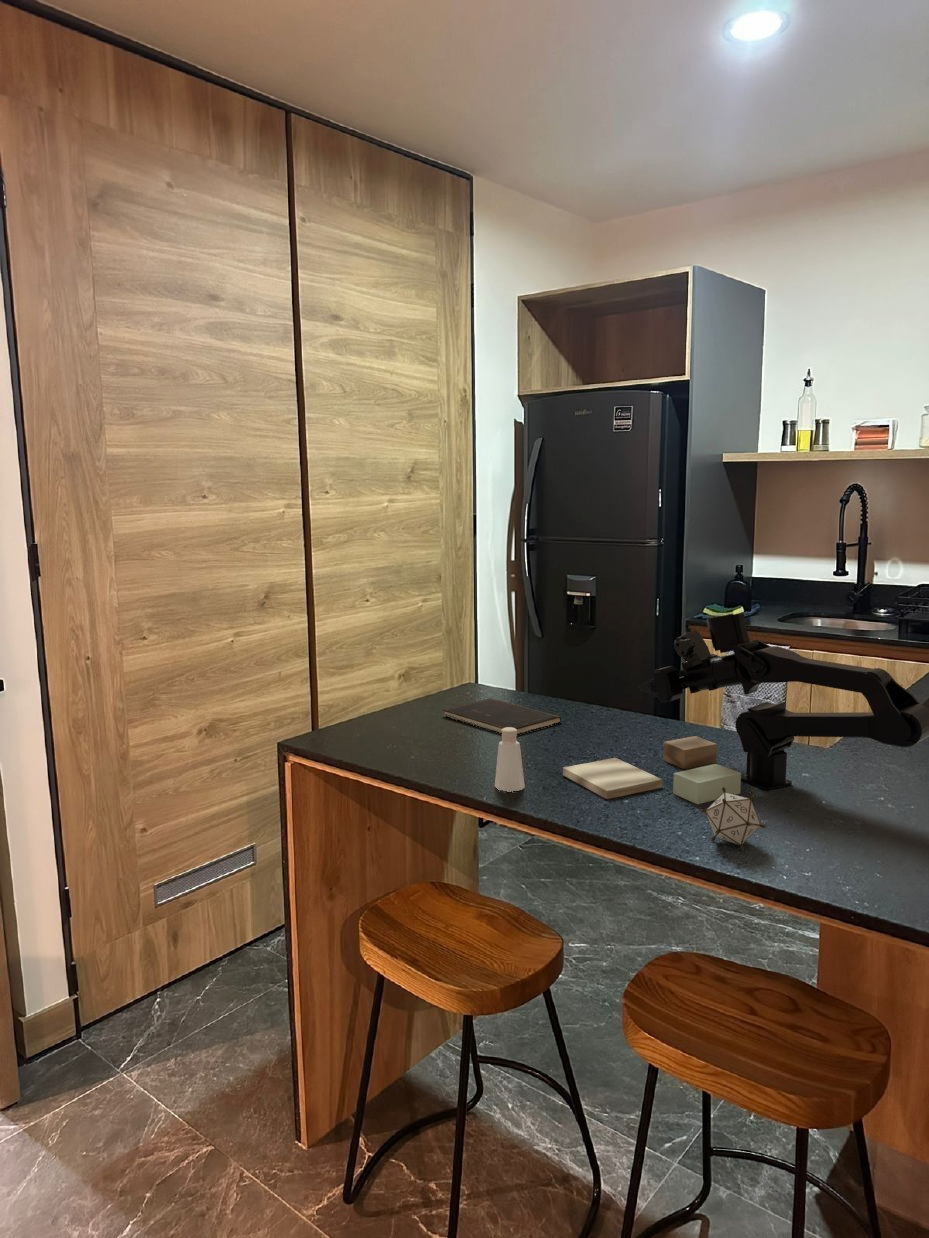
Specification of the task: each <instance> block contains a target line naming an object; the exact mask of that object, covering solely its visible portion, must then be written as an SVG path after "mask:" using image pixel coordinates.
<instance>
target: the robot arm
mask: <svg viewBox="0 0 929 1238" xmlns="http://www.w3.org/2000/svg"><path fill="white" fill-rule="evenodd" d="M706 624H707V627H708V631H709V634H710V635H709V636H710V640H711V643H712V644H711V645H712V648H713V649H714V652H717V651H719V653H720V654H724V653H727V652H728V653H729V652H733V654H727V655H718V654H715V653H711V652H710V649H709V646H708V645H707V643H706V641H705V640H704V638H703V636H702V635H701V633H700V632H699V631H698V630H693V631H692V630H691V631H688V632H685V633H684V634H682V635H681V636H678V637H676V638H675V640H674V642H673V645H674V646H673V648H674V650H675V651H676V653H677V655H678V656H679V657H681V658H682V659H683V660H684V662H681V665H682V670H678V669H677V668H676V667H674V666H673V665H671V666H666V667H665V666H664V667H661V668H659V669H654V670H653V673H652V676H653V678H652V679H649V680H648V681H645V682H643V683H641V684H639V685H638V687H639V689H640V691H641V692H644V693H646V694H649V695H652V697H653V696H654V697H656V698H658V700H659V702H661V704H663V703H669V702H673V701H676V700H679V699H681V697H682V695H683V693H684V691H683V690H685V689H689V693H690V694H697V693H698V692H702V691H715V690H718V689H722V688H727V687H734V686H741V687H742V690H743V694H744V695H746V696H747V695H750V694H753V693H756V692H757V691H758V689H759V687H760V685H761V684H763V683H764V684H770V683H771V684H777V683H778V684H779V683H792V682H793V683H794V682H795V683H796V682H797V683H803V684H804V683H805V684H807V685H808V684H809V685H814V686H821V687H826V688H831V689H837V690H842V691H848V692H855V693H861V695H862V696H863V697H864V698H865V700H866V702H867V703H868V705H869V708H870V710H871V711H870V712H867V711H866V712H862V711H861V712H860V711H858V712H852V711H851V712H848V711H847V712H794V711H790V710H788V709H786V702H785V701H781V702H778V703H771V702H769V701H764V702H761V703H759V704H756V705H754V706H750V707H747V710H746V711H744V712H741V713H739V715H738V716H737V717H736V720H735V730H736V733H737V735H738V736H739V740H740V743H741V746H742V749H743V752H744V753H746V768H745V769H746V771H745V774H746V775H743V776H742V775H741V781H743V782H746V783H748V784H749V785H750V784H751V785H753V786H755V787H758V788H760V789H762V790H765V791H768V790H773V789H777V788H782V787H787V786H791V785H793V781H792V780H790V779H787V765H788V764H787V763H788V762H787V761H788V759H787V758H788V752H786V751H785V749H788V748H791V747H792V745H793V744H794V741H795V737H802V738H803V737H804V738H805V737H806V738H813V737H814V738H854V739H856V738H859V739H860V738H861V739H863V738H866V739H870V740H873V741H875V742H878V743H880V744H882V745H883V744H884V745H889V746H894V747H898V748H909V747H912V746H915V745H916V744H919V743H921V742H922V741H924V740H926V739H928V738H929V708H928V707H927V706H926V705H924V704H921V703H920V701H918V699H917V698H916V697H915V696H914V695H913V694H912V693H911V692H910V691H909V690H907V689H906V688H904V687H903V685H900V683H898V682H897V681H896V679H894V678H893V676H892V675H891V674H890V672H888V671H887V670H885V669H883V668H881V667H875V668H872V667H864V666H859V665H853V664H852V665H851V664H846V663H838V662H833V661H826V660H820V659H812V658H808V657H805V656H803V655H801V654H798V653H797V652H795V651H794V650H790V649H787V648H784V647H781V646H778V645H773V646H771V645H769V644H767V643H765V642H764V641H761V640H759V639H758V638H756V639H751V640H750V638H749V633H748V630H747V626H746V616H745V614H744V612H739V613H729V614H724V615H720V616H714V617H711V618H707V619H706Z"/></svg>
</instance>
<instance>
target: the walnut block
mask: <svg viewBox="0 0 929 1238" xmlns="http://www.w3.org/2000/svg"><path fill="white" fill-rule="evenodd" d="M717 747H718V746H717V743H715V742H713V741H710V740H707V739H704V738H702V737H699V736H697V735H694V736H688V737H683V738H678V739H672V740H667V741H663V760H662V761H664V762H666V763H669V764H670V765H674V766H675V767H677V768H681V769H683V770H688V769H690V768H691V769H693V768H698V767H703V766H708V765H712V764H717Z"/></svg>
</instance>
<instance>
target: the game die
mask: <svg viewBox="0 0 929 1238" xmlns="http://www.w3.org/2000/svg"><path fill="white" fill-rule="evenodd" d="M725 789H726V788H724V787H723V788H722V790H723V792H724V793H723V794H722V795H721V796H720V797H718V798H717V799H716V800H713V802H712V803H711V804H710V805H709V806H708V807H707V808H706V809H705V808H700V809H698V810H699V811H700V812H701V813H705V815H706V818H707V821H708V824H709V827H710V829H711V833H712V834H713V836H712V837H711V841H710V842H715V841H716V839H718V840H721V841H725V842H728V843H731V844H735V845H738V846H739V849H740V850H741V851H742V850H743V851H744V849H745V848H744V846H743V845H744V843H745V842H747V840H748V839H749V838H751V837H752V836H753V834H755V832H756V831H757V830H759V828H761V829H765V828H767V826H766V825H765V824H764V823H763V824H761V822H760V819H759V816H758V814H757V811H756V807H755V806H754V803H753V800H754V799H755V795H756V794H753V795H752V794H751V795H750V797H746V796H743V795H740V794H736V795H735V794H731V793H728V792H726V790H725Z"/></svg>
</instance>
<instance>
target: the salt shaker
mask: <svg viewBox="0 0 929 1238" xmlns="http://www.w3.org/2000/svg"><path fill="white" fill-rule="evenodd" d="M501 732H502V734H501V738H502V739H501V741H499V742H498V747H497V759H496V768H495V769H496V770H495V781H494V787H496V788H497V789H498V790H503V791H507V792H511V791H512V793H514V792H513V791H519V790H521V791H522V790H524V789H525V779H524V778H525V776H524V769H523V760H522V752H521V745H520V742H519V741H517V737H518V735H517V734H516V733H517V729H515V728H512V727H506V728H503V729H502V730H501ZM496 788H495V789H496ZM497 789H496V790H497ZM498 790H497V791H498Z"/></svg>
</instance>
